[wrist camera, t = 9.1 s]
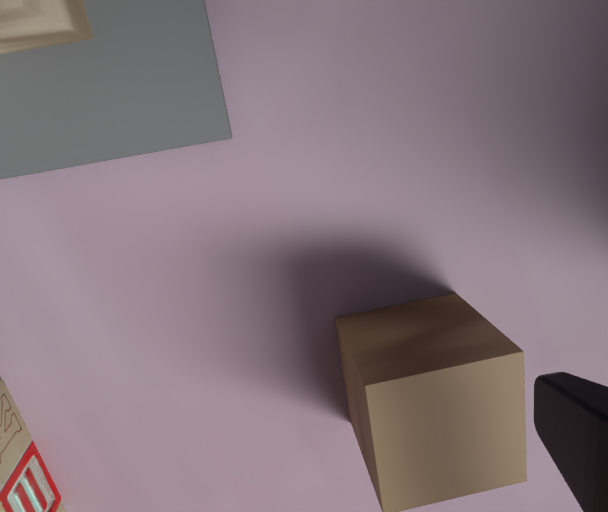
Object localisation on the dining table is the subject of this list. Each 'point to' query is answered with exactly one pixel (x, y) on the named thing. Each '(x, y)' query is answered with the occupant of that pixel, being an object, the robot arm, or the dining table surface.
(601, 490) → the robot arm
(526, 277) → the dining table surface
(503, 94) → the dining table surface
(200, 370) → the dining table surface
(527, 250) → the dining table surface
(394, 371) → the rectangular block
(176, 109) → the slate mat
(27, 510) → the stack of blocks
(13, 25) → the ash block
